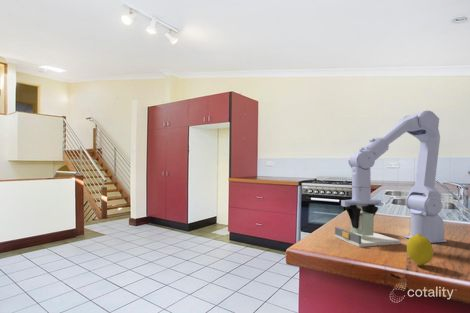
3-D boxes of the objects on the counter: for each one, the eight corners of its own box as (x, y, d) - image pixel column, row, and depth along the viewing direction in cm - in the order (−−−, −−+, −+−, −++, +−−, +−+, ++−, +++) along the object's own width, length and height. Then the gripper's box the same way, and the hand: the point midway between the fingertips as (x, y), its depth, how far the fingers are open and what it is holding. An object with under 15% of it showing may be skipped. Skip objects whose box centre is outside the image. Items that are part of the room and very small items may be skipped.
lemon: (438, 270, 64) (437, 237, 65) (412, 269, 65) (412, 236, 66) (426, 262, 70) (425, 231, 70) (402, 261, 71) (402, 230, 71)
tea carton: (360, 231, 94) (360, 211, 94) (373, 235, 88) (373, 214, 88) (349, 231, 93) (350, 211, 93) (361, 235, 87) (362, 214, 87)
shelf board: (372, 234, 99) (372, 225, 99) (400, 243, 87) (400, 233, 87) (334, 237, 94) (334, 227, 95) (357, 247, 83) (357, 235, 83)
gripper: (370, 186, 97) (370, 224, 96) (335, 186, 93) (335, 225, 93) (385, 187, 90) (386, 228, 89) (349, 188, 86) (349, 230, 86)
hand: (361, 227), depth 91 cm, fingers closed on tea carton, 4 cm apart
